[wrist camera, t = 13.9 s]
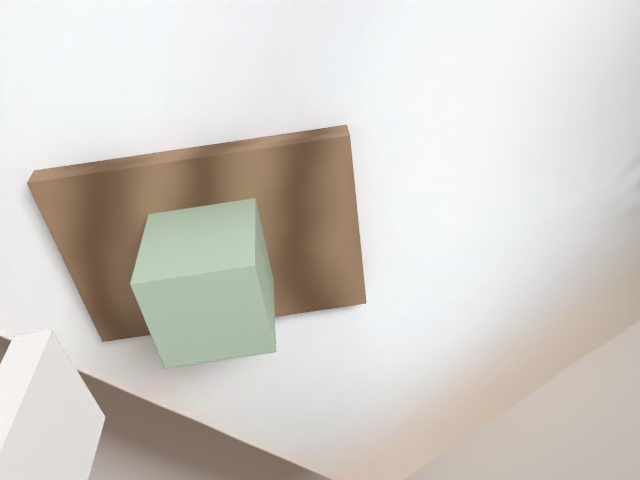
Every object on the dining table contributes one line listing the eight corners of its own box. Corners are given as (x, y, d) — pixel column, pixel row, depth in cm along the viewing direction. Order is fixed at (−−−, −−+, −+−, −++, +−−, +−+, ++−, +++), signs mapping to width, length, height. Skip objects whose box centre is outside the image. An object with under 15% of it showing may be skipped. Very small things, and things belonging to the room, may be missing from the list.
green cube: (255, 198, 39) (255, 265, 33) (273, 280, 43) (275, 352, 38) (148, 214, 39) (130, 284, 33) (176, 294, 43) (164, 368, 38)
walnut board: (347, 125, 38) (349, 135, 37) (363, 290, 47) (366, 303, 45) (34, 170, 38) (27, 182, 37) (106, 327, 47) (102, 341, 45)
